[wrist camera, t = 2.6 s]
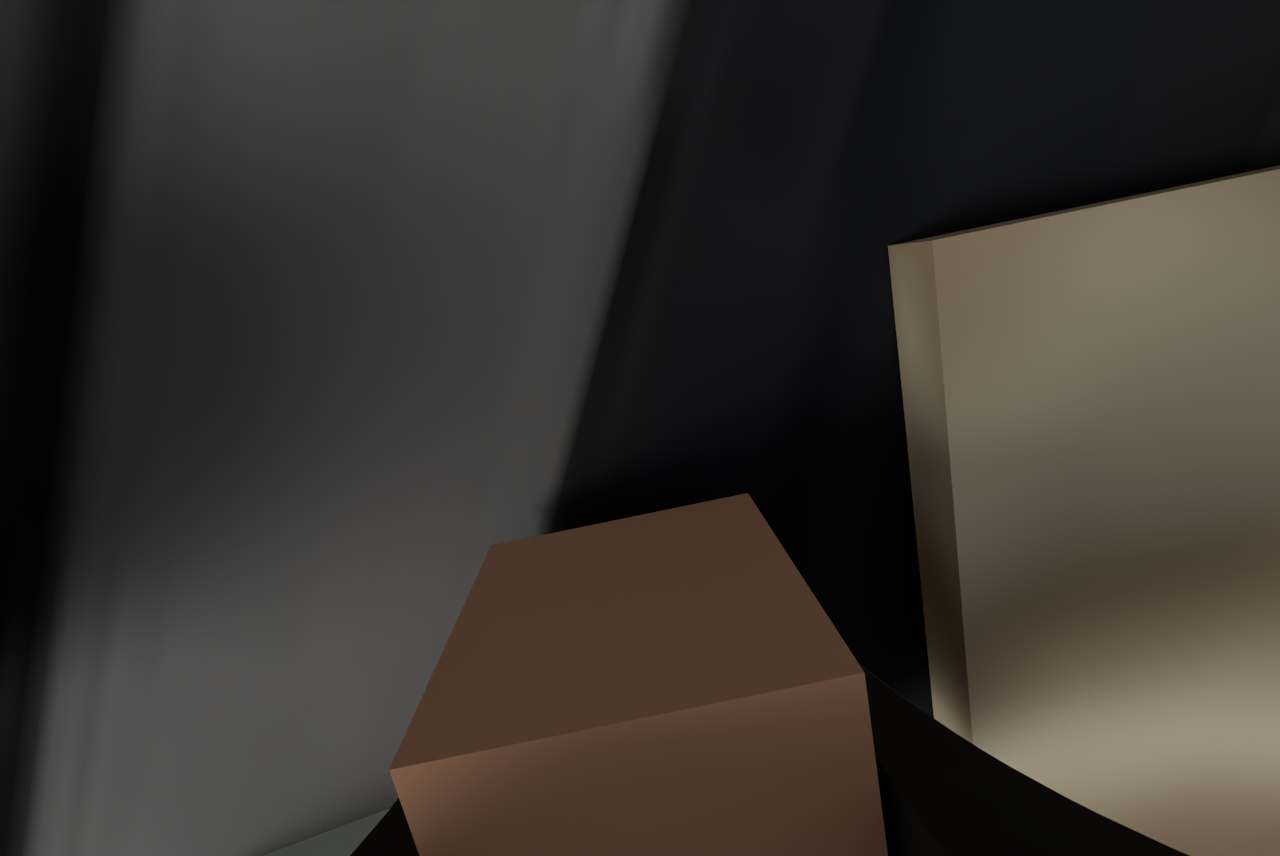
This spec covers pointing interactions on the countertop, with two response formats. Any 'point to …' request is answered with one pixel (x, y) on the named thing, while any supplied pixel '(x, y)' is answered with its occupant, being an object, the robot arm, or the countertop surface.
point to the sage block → (334, 839)
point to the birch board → (1107, 500)
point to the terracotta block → (644, 702)
